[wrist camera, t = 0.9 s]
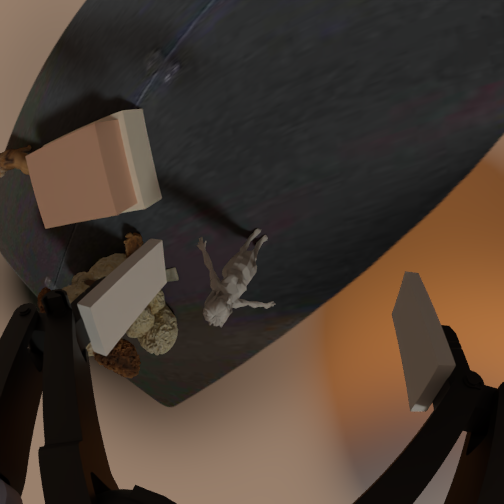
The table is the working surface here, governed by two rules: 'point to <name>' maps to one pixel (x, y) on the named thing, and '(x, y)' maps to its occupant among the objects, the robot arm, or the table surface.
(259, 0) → the table surface
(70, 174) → the stacked block pedestal
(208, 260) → the human figurine
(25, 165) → the lion figurine
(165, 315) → the dog
